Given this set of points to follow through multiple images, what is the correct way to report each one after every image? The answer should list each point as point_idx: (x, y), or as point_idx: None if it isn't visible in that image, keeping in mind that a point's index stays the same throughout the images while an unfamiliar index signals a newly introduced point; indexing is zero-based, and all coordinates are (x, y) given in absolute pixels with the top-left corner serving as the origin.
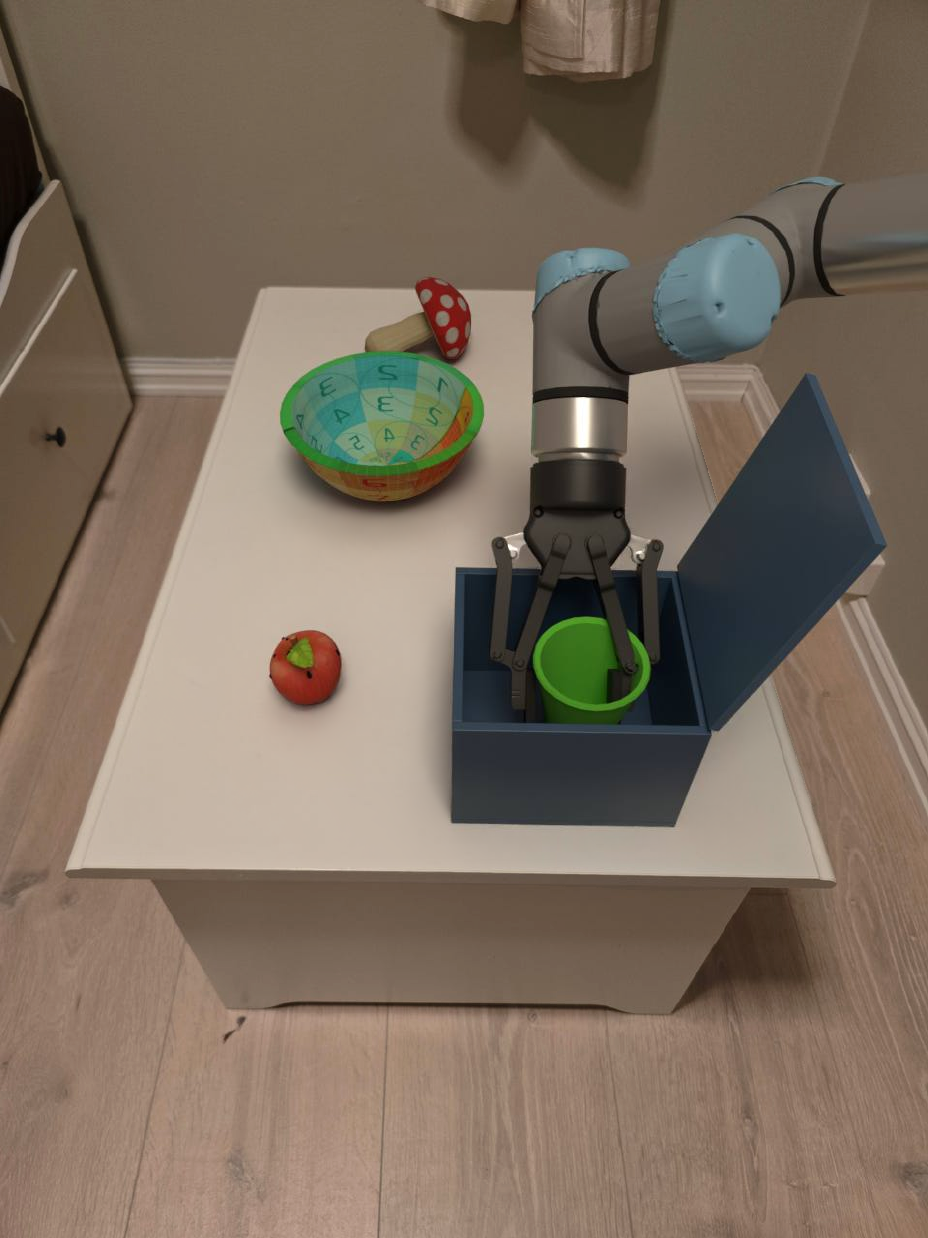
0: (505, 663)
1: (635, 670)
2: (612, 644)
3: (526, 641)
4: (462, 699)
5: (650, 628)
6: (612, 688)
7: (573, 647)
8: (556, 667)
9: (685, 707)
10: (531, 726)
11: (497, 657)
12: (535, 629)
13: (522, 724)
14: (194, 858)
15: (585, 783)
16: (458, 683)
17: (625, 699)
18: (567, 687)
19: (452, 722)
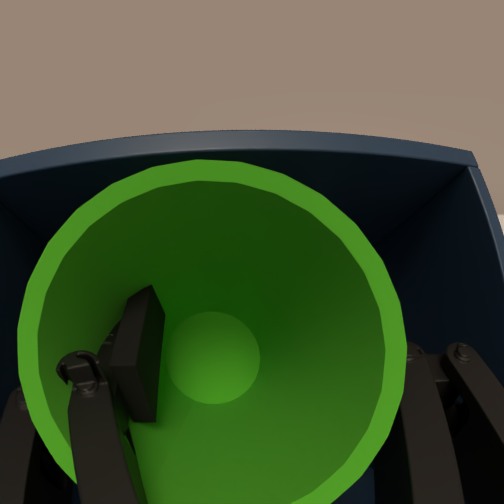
0: (429, 355)
1: (69, 355)
2: (139, 467)
3: (423, 402)
4: (486, 211)
5: (9, 472)
6: (141, 336)
7: (253, 465)
8: (283, 422)
9: (3, 301)
10: (356, 143)
11: (461, 346)
12: (418, 439)
13: (375, 149)
14: (499, 217)
15: None
16: (502, 250)
17: (106, 201)
18: (240, 416)
19: (477, 166)
